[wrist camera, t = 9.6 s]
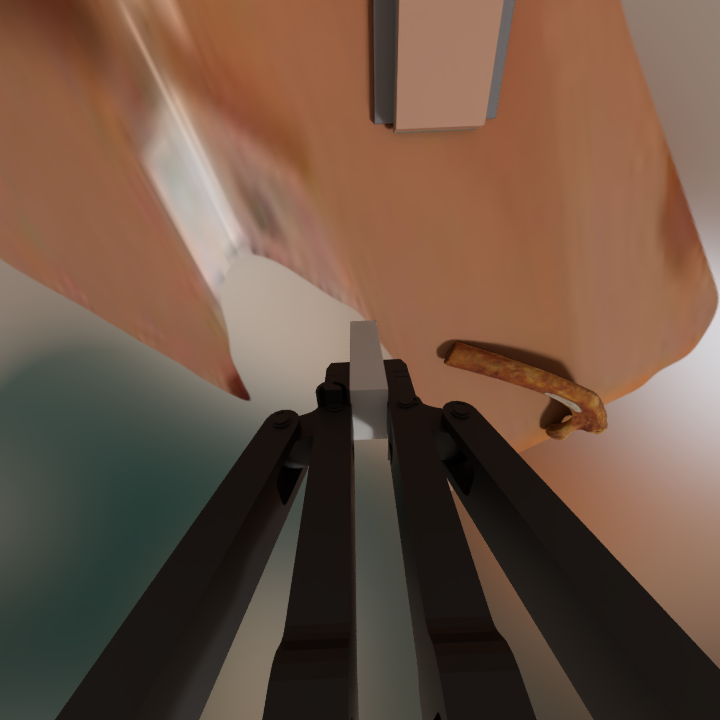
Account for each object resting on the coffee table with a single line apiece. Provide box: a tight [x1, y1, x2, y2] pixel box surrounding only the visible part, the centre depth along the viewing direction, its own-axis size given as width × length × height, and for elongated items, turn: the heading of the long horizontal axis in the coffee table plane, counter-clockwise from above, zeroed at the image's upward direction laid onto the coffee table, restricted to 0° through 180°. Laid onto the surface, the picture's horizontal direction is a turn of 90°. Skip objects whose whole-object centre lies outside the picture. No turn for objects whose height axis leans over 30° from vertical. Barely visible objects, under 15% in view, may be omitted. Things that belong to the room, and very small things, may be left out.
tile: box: [393, 0, 504, 133], centre depth 26 cm, size 9×2×11 cm
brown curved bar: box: [444, 342, 608, 440], centre depth 48 cm, size 33×8×10 cm, turn 55°
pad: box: [373, 0, 515, 124], centre depth 27 cm, size 13×13×1 cm
